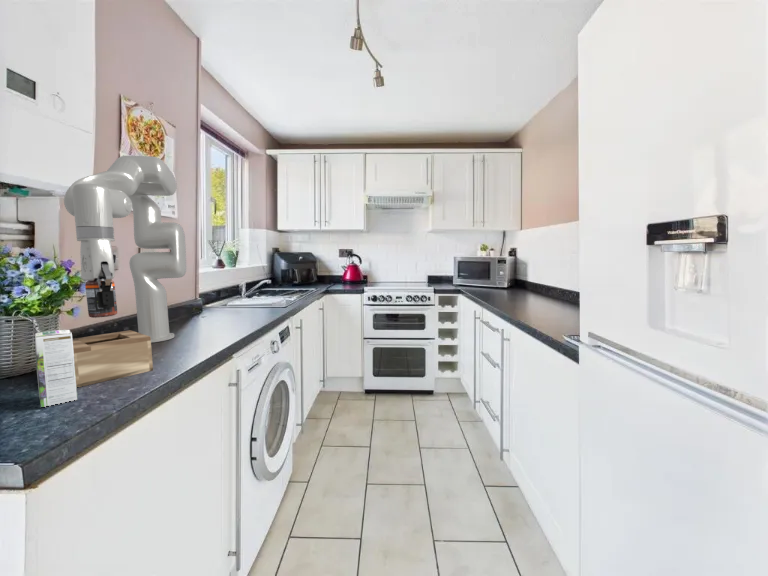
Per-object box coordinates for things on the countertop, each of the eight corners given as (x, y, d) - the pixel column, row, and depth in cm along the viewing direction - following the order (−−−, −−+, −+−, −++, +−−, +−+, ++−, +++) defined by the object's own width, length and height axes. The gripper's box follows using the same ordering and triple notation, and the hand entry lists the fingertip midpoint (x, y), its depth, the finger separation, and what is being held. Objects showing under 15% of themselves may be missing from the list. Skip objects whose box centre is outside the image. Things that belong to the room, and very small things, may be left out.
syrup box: (39, 401, 77) (32, 332, 76) (76, 393, 82) (69, 328, 80) (40, 408, 73) (33, 336, 72) (79, 400, 77) (72, 331, 76)
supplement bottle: (110, 313, 99) (107, 271, 98) (122, 315, 96) (118, 271, 95) (83, 317, 94) (79, 272, 93) (94, 318, 91) (90, 272, 90)
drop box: (60, 375, 94) (57, 341, 94) (133, 361, 107) (130, 330, 106) (75, 388, 85) (71, 349, 84) (153, 370, 97) (150, 336, 96)
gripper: (68, 236, 95) (75, 306, 97) (86, 232, 85) (93, 311, 86) (103, 237, 101) (109, 302, 103) (124, 233, 90) (131, 307, 92)
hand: (102, 305), depth 94 cm, fingers closed on supplement bottle, 6 cm apart
